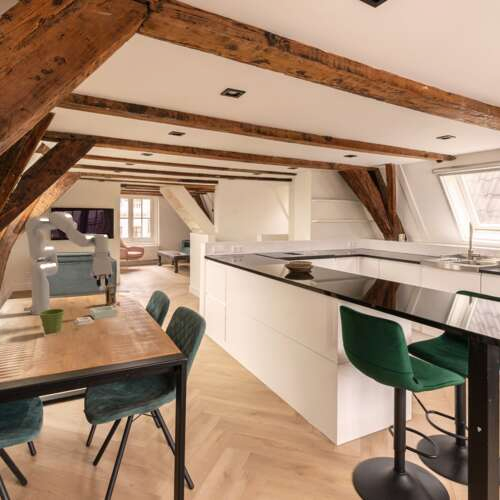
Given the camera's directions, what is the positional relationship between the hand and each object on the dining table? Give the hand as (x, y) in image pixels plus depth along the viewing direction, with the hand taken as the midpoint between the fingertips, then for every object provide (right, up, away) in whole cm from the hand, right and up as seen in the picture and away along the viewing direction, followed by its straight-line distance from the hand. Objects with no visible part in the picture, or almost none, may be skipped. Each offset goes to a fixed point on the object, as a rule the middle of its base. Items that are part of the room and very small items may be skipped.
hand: (102, 285), depth 215 cm
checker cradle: (-5, -20, -11) cm, 24 cm away
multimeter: (-4, -17, +33) cm, 37 cm away
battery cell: (0, -3, 0) cm, 3 cm away
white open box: (0, -19, +2) cm, 19 cm away
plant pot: (-14, -22, -29) cm, 39 cm away
